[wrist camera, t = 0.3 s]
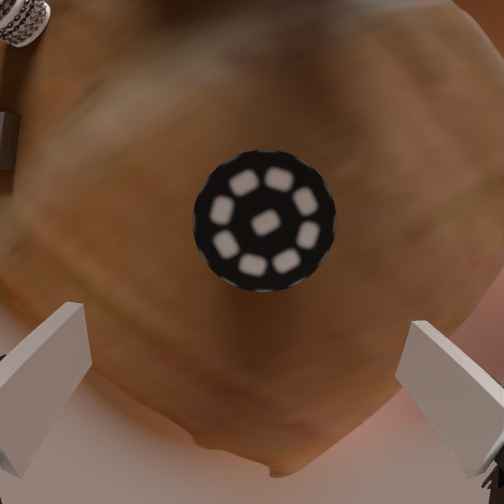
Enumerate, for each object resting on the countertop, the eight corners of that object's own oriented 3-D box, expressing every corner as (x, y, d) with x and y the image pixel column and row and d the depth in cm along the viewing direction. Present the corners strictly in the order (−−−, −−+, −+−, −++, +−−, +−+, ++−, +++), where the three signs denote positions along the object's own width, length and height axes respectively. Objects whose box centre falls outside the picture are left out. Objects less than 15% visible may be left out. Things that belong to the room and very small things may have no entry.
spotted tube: (235, 245, 39) (237, 315, 19) (201, 186, 37) (166, 195, 17) (296, 213, 38) (357, 250, 19) (263, 152, 36) (295, 125, 17)
